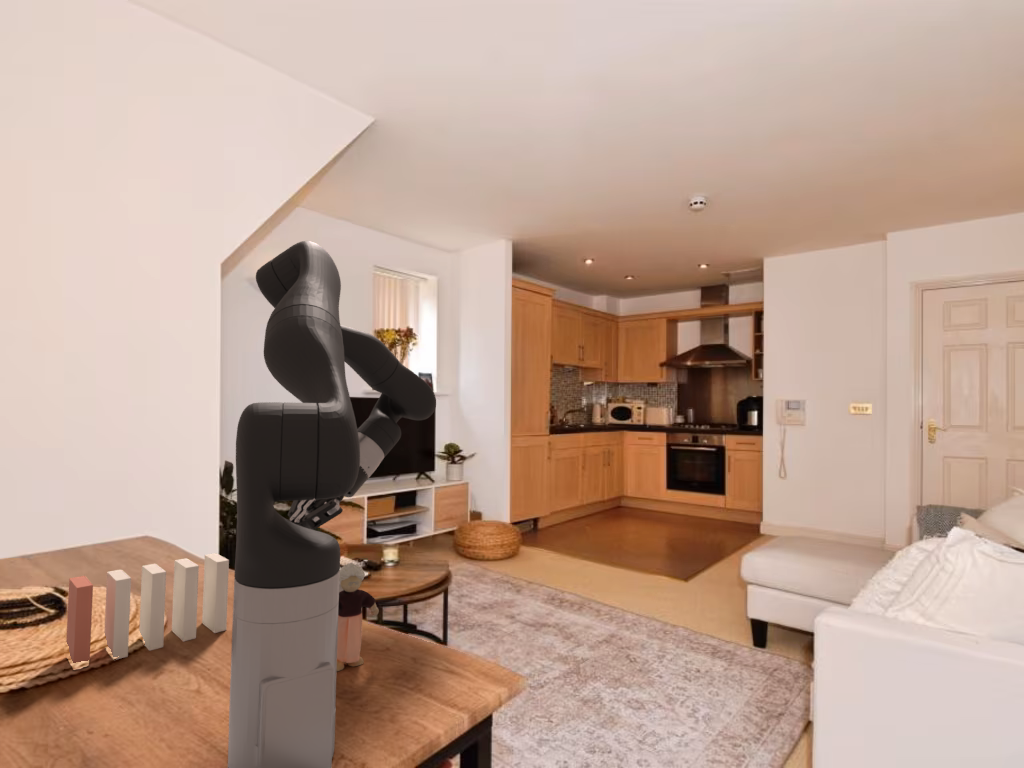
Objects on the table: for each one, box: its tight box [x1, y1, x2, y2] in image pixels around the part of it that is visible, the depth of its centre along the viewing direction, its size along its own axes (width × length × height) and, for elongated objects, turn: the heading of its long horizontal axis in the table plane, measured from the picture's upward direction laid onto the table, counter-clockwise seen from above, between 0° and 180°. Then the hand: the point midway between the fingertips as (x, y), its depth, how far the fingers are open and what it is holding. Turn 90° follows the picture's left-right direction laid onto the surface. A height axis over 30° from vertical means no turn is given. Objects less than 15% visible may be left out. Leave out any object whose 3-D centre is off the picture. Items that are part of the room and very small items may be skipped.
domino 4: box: [171, 557, 200, 642], centre depth 79 cm, size 5×2×10 cm, turn 47°
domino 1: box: [65, 575, 94, 663], centre depth 70 cm, size 5×2×10 cm, turn 47°
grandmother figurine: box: [336, 562, 380, 672], centre depth 72 cm, size 8×4×13 cm, turn 136°
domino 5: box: [201, 552, 230, 634], centre depth 82 cm, size 5×2×10 cm, turn 47°
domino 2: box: [103, 569, 132, 661], centre depth 73 cm, size 5×2×10 cm, turn 47°
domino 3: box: [138, 563, 167, 651], centre depth 76 cm, size 5×2×10 cm, turn 47°
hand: (280, 544), depth 90 cm, fingers closed
